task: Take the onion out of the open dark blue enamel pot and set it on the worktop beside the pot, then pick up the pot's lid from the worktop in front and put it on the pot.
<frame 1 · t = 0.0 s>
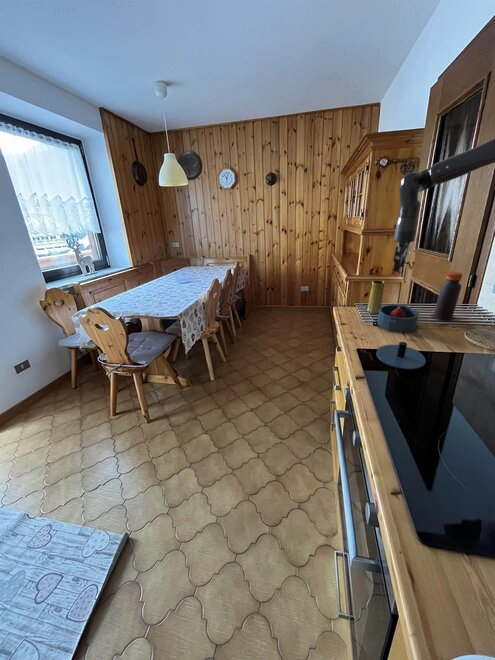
hand: (398, 269, 120), 21 cm above the counter, tool pointing down, fingers open, 8 cm apart
vase: (373, 311, 135), on the counter
bottle: (442, 318, 124), on the counter
lid: (400, 357, 98), point 1 cm above the counter
onion: (395, 324, 120), resting on pot
pot: (395, 325, 120), on the counter
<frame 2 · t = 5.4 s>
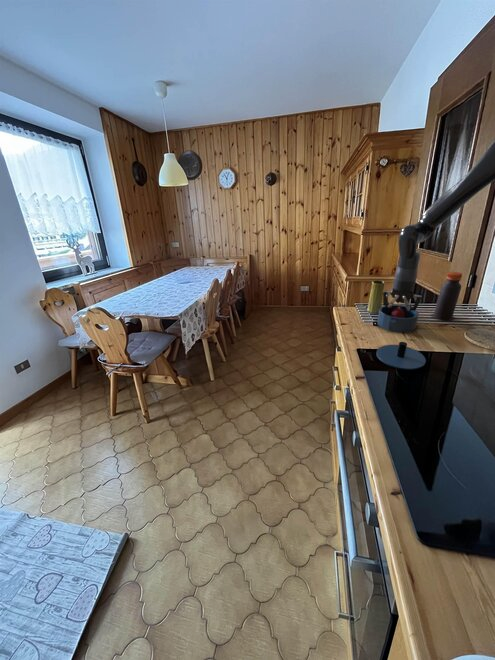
hand: (397, 316, 118), 4 cm above the counter, tool pointing down, fingers closed on onion, 6 cm apart
onion: (395, 324, 120), resting on pot, touching gripper
everything else where it was.
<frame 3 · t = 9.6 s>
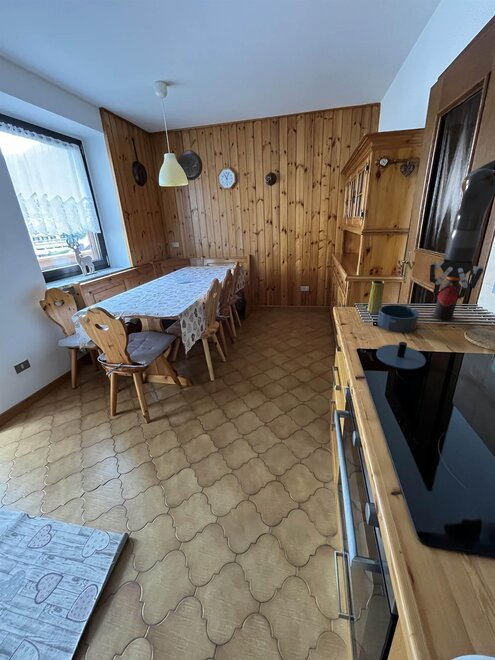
hand: (448, 296, 93), 20 cm above the counter, tool pointing down, fingers closed on onion, 6 cm apart
onion: (445, 306, 95), point 17 cm above the counter, touching gripper
everything else where it was.
when the fingers open (4 cm above the counter, at t = 13.8 s): onion stays where it is, on the counter.
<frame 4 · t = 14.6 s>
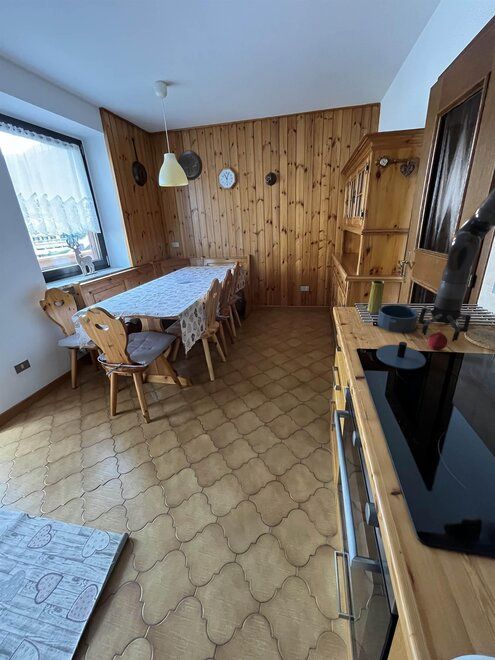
hand: (438, 337, 99), 5 cm above the counter, tool pointing down, fingers open, 8 cm apart
onion: (434, 350, 101), on the counter
everything else where it was.
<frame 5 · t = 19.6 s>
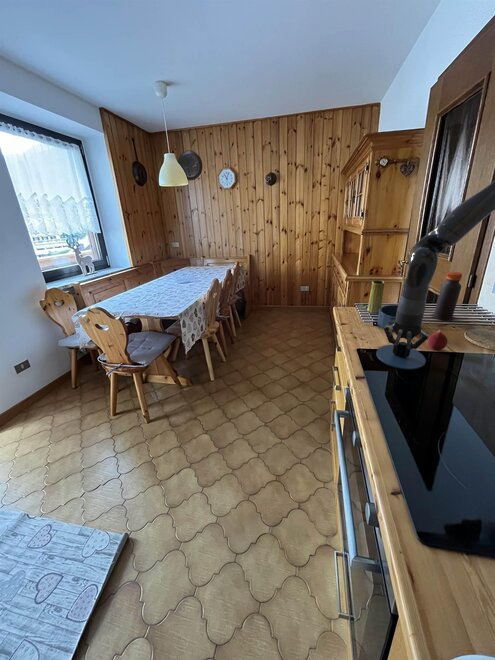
hand: (400, 355, 98), 1 cm above the counter, tool pointing down, fingers closed on lid, 2 cm apart
lid: (400, 357, 98), point 1 cm above the counter, touching gripper
everything else where it was.
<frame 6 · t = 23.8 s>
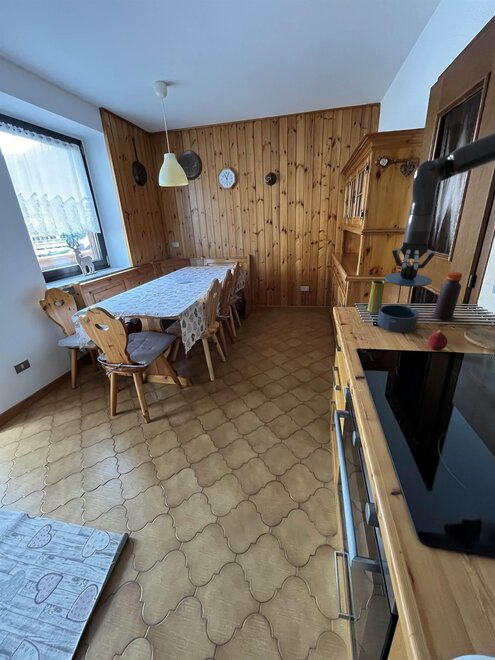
hand: (407, 278, 103), 23 cm above the counter, tool pointing down, fingers closed on lid, 2 cm apart
lid: (407, 280, 104), point 22 cm above the counter, touching gripper
everything else where it was.
when the fingers open (7 cm above the counter, at t = 28.3 s): lid stays where it is, resting on pot.
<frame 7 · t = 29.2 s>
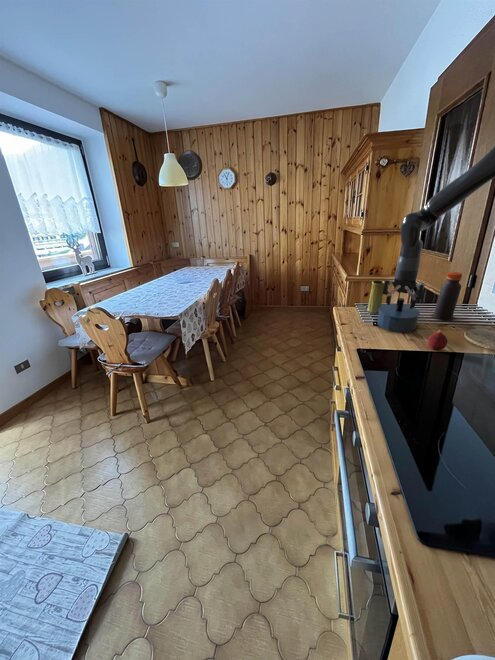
hand: (399, 306, 116), 9 cm above the counter, tool pointing down, fingers open, 8 cm apart
lid: (398, 311, 117), point 6 cm above the counter, touching pot
everything else where it was.
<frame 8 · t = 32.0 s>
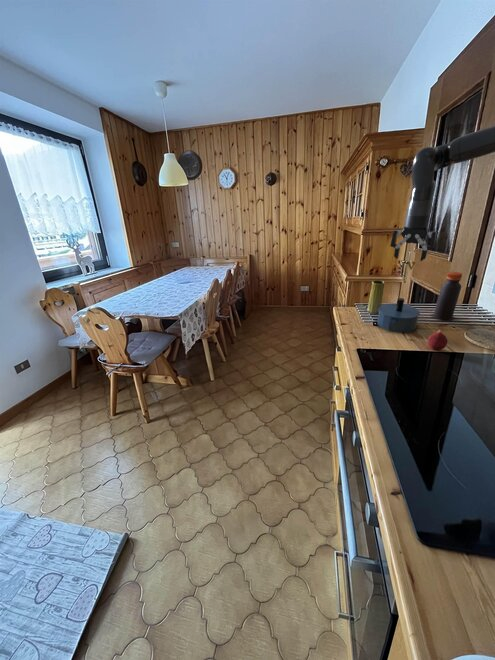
hand: (409, 259, 107), 28 cm above the counter, tool pointing down, fingers open, 8 cm apart
nothing on the counter moved.
at the end: onion inside the target area (0.2 cm from its centre), on the counter; lid 0.1 cm off-centre on the pot, point 6.5 cm above the pot's base; lid tilted 0° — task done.
